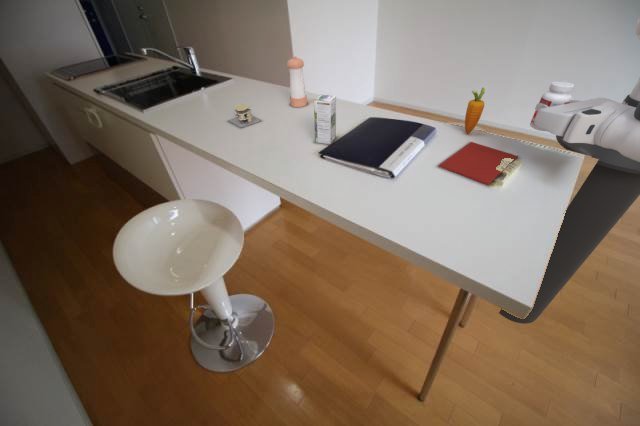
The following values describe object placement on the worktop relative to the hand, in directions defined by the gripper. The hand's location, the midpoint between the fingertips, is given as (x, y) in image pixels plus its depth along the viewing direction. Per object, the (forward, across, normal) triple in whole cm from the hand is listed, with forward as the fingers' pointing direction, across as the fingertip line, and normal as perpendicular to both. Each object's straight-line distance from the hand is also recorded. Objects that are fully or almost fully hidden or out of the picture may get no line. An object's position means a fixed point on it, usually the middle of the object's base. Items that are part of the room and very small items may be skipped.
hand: (549, 103), depth 74 cm
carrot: (+21, +3, +16) cm, 27 cm away
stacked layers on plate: (+63, +75, +16) cm, 100 cm away
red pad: (+4, +13, +16) cm, 21 cm away
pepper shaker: (+73, +50, +16) cm, 90 cm away
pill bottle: (-1, 0, +6) cm, 6 cm away
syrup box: (+34, +50, +16) cm, 63 cm away
